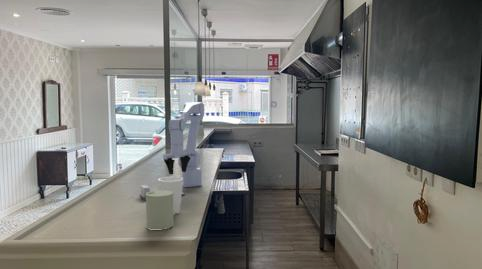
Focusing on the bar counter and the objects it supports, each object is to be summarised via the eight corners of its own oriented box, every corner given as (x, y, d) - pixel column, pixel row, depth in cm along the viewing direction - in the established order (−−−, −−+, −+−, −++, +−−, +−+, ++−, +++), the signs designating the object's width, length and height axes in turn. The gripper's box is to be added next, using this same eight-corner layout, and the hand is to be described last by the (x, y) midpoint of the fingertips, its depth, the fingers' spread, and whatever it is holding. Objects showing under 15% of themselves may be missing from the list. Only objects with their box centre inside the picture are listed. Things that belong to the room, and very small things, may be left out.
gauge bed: (178, 191, 171) (177, 180, 171) (184, 195, 162) (184, 184, 162) (140, 195, 163) (139, 184, 162) (144, 200, 154) (144, 189, 154)
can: (148, 222, 125) (148, 188, 124) (175, 221, 126) (174, 188, 125) (143, 231, 116) (143, 195, 115) (172, 230, 117) (171, 194, 116)
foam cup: (162, 208, 142) (161, 176, 141) (185, 208, 142) (184, 176, 141) (155, 215, 132) (155, 181, 131) (180, 216, 132) (180, 181, 131)
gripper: (183, 142, 174) (184, 169, 175) (159, 144, 164) (159, 174, 165) (193, 143, 170) (193, 171, 171) (168, 145, 159) (168, 176, 160)
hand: (177, 173), depth 167 cm, fingers open, 7 cm apart
